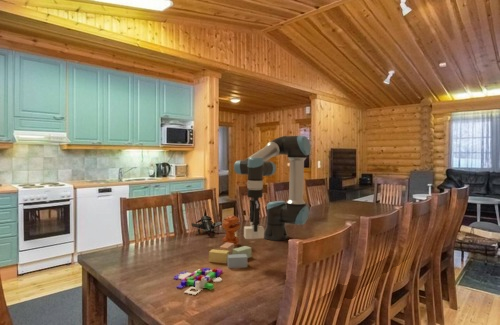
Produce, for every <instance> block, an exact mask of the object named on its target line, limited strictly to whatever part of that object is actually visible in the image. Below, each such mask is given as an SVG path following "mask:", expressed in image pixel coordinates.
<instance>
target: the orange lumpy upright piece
mask: <svg viewBox="0 0 500 325" xmlns="http://www.w3.org/2000/svg"><path fill="white" fill-rule="evenodd" d="M240 221H241V220H240V218H238V217H237V216H235V214H233V215H229V216H227V217H225V218H224V219H223V220H222V225H221V226H222V229H223V230H224V231H225V232H226V233H225V236H224V237H223V238H222V244H225V243H226V242H228V243H234V247H235V246H238V244H239V241H240V239H239V238H238V237H237V236H236V232H238V230H239V229H240V228H241V223H240Z"/></svg>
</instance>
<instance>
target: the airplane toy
mask: <svg viewBox="0 0 500 325" xmlns="http://www.w3.org/2000/svg"><path fill="white" fill-rule="evenodd" d="M212 220H213V219H212V216H209V215H208V214H207V209H205V210H204V215H203V216H202V217H200V219H198V220H197V221H196V223H194V222H193V223H192V222H191V227H193V228H197V233H198V234H200V233H201V230H202V231H203V232H206V233H208V234H207V236H211V234H210V233H211V232H212V233H214V232H215V231H217V229H215V228H216V227H219V226H222V225H223V222H222V221H218V222H213V221H212Z"/></svg>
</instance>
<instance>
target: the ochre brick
mask: <svg viewBox="0 0 500 325" xmlns="http://www.w3.org/2000/svg"><path fill="white" fill-rule="evenodd" d="M228 255H229V251H227V250H219V249H210V251H208V262H209V263H219V264H220V263H221V264H227V257H228Z"/></svg>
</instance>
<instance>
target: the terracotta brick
mask: <svg viewBox="0 0 500 325" xmlns="http://www.w3.org/2000/svg"><path fill="white" fill-rule="evenodd" d="M232 249H235V246H234V243H228V242H226V243H225V242H224V243H222V244H221V245H220V246H219V249H218V250H227V251H229V255H232Z"/></svg>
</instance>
